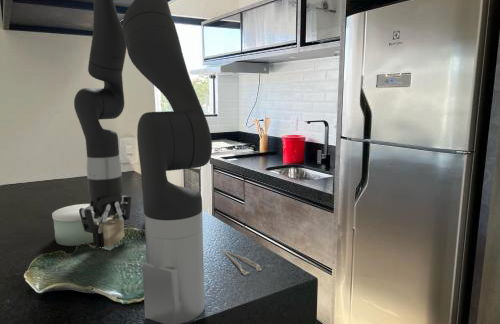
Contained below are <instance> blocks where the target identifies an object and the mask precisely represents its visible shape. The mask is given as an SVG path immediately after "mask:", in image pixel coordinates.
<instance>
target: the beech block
mask: <svg viewBox="0 0 500 324" xmlns="http://www.w3.org/2000/svg"><path fill="white" fill-rule="evenodd" d="M98 224H99V223H98ZM97 228H98V225H97ZM102 233H103V240H104V246H106V247H110V246H112V245H114V244H115V243H117V242H119V241H120V240H121V239H122V238H123V237H125V221H123V220H118V219H113V218H112V217H108V218H107V220H106V223H105V224H104V226H103V230H102ZM93 248H95V246H94V245H93Z"/></svg>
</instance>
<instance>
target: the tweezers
mask: <svg viewBox="0 0 500 324" xmlns="http://www.w3.org/2000/svg"><path fill="white" fill-rule="evenodd" d="M220 251H221V252H222V253H223V254H224V255H225V256H226V257H227V258H228V259H229V260H231V262H232V263H233V264H234V265H236V267H237V268H238V270H239V271H240V272H241V273H242V275H243V276H247V275H249V274H250V271H246V270H244V269H243V267H242V265H241V264H240V263H239V262H238V261H237V260H236V259H234V257H235V258H237V259H238V260H241V261H242V262H243V263H246V265H249V266H251V267H253V268H255V269H256V272H260V271H262V266H261V265H259V264H258V263H256V262H255V261H253V260H251V259H249V258H248V257H244V256H241V255H240V254H239V255H238V254H236V253H234V252H231V251H227V250H226V249H223V250H222V249H220ZM232 256H233V257H232Z"/></svg>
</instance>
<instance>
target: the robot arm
mask: <svg viewBox="0 0 500 324" xmlns="http://www.w3.org/2000/svg"><path fill="white" fill-rule="evenodd" d="M92 27H93V29H92V37H91V38H92V40H91V45H90V49H89V50H90V51H89V57H88V59H89V60H88V67H87V72H88V75H89V76H91V77H92V78H94V79H95V80H98V81H101V82H103V85H104V86H103V88H100V87H99V88H95V87H94V88H93V87H91V88H90V87H86V88H81V89H79V90H78V91H77V92H76V94H75V95H74V99H73V100H74V101H73V106H74V107H73V108H74V111H75V114H76V117H77V119H78V122H79V124H80V128H81V130H82V133H83V135H84V139H85V147H86V148H85V149H86V174H87V175H86V177H87V178H86V179H87V189H88V195H89V197H90V202H89V204H90V206H88V207H86V208H80V209H79V213H80V217H81V220H82V224H83V227H84V231H85V232H90V233H93V243H92V244H93V247H94V246H95V247H101V248H102V247H104V240H103V233H102V230H103V226H104V224H105V223H106V220H107V218H113V219H118V220H123V221H124V222H126V221H129V220H130V217H131V214H130V213H131V205H132V204H131V203H132V196H130V195H129V196H128V195H123V194H122V193H123V178H122V164H121V159H120V149H119V147H120V146H119V145H120V144H119V136H118V133H117V132H116V131H114V130H111V129H105V128H104V127H102V125H101V123H100V120H112V119H113V120H114V119H117V118H118V117H120V116H121V114H122V113H123V111H124V109H125V95H124V93H125V92H124V85H123V84H124V83H123V81H124V80H123V70H124V65H125V59H126V55H127V54H128V56H129V59H130V61H131V63H132V65H133V66H134V67H135V68H136V69H137V70H138V71H139V72H140V73H141V75H142V76H144V78H146V79H147V81H149V82H150V83H151V84H152V85H154V87H155V88H157V90H158V91H159V92H160V93H161V94H162V95H163V96H164V98H166V100H167V102H168V103H169V105H170V108H171V109H172V110H171V111H149V112H145V113H143V114H142V115H141V116H140V118H139V120H138V124H137V134H136V136H137V137H136V138H137V140H136V141H137V150H138V157H139V158H138V159H139V165H140V167H139V168H140V176H141V190H142V195H143V201H142V203H143V202H144V218H145V224H144V235H145V236H144V237H145V253H146V254H145V255H146V260H145V261H144V262H143V263H142V264H141V265H142V266H141V267H142V281H143V282H142V283H143V298H144V316H145V317H144V318H146V319H148V320H151V321H154V322H157V323H160V324H185V323H188V322H190V321H193V320H195V319H196V318H198V317H199V316H200V315H202V313H203V312H204V310H205V275H204V273H205V269H204V268H205V267H204V228H203V227H204V225H203V221H204V220H203V199H202V195H201V193H200V192H199V191H197V190H195V189H192V188H191V187H190V188H189V187H185V186H182V185H181V186H180V185H177V184H174V183H172V182H171V181H169V180H168V177H167V172H172V171H179V170H188V169H189V170H191V169H198V168H202V167H204V166H206V165H208V164H209V162H210V161H211V157H212V153H213V152H212V151H213V141H212V134H211V130H210V126H209V123H208V120H207V117H206V114H205V112H204V109H203V107H202V104H201V103H200V100H199V98H198V95H197V93H196V90H195V88H194V86H193V83H192V79H191V77H190V75H189V72H188V69H187V64H186V62H185V58H184V57H185V56H184V54H183V50H182V46H181V42H180V38H179V34H178V32H177V31H178V30H177V28H176V25H175V21H174V19H173V15H172V13H171V9H170V6H169V2H168V0H133V1H132V2H131V4H130V5H129V6H128V8H127V10H126V11H125V13H124V16H123V19H122V22H121V20H120V17H119V15H118V12H117V9H116V5H115V2H114V0H93V26H92ZM92 212H93V213H92ZM92 215H93V216H92ZM98 217H101V219H98ZM144 218H143V219H144ZM98 223H99V224H98ZM97 225H98V228H97ZM95 247H94V248H95Z"/></svg>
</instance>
